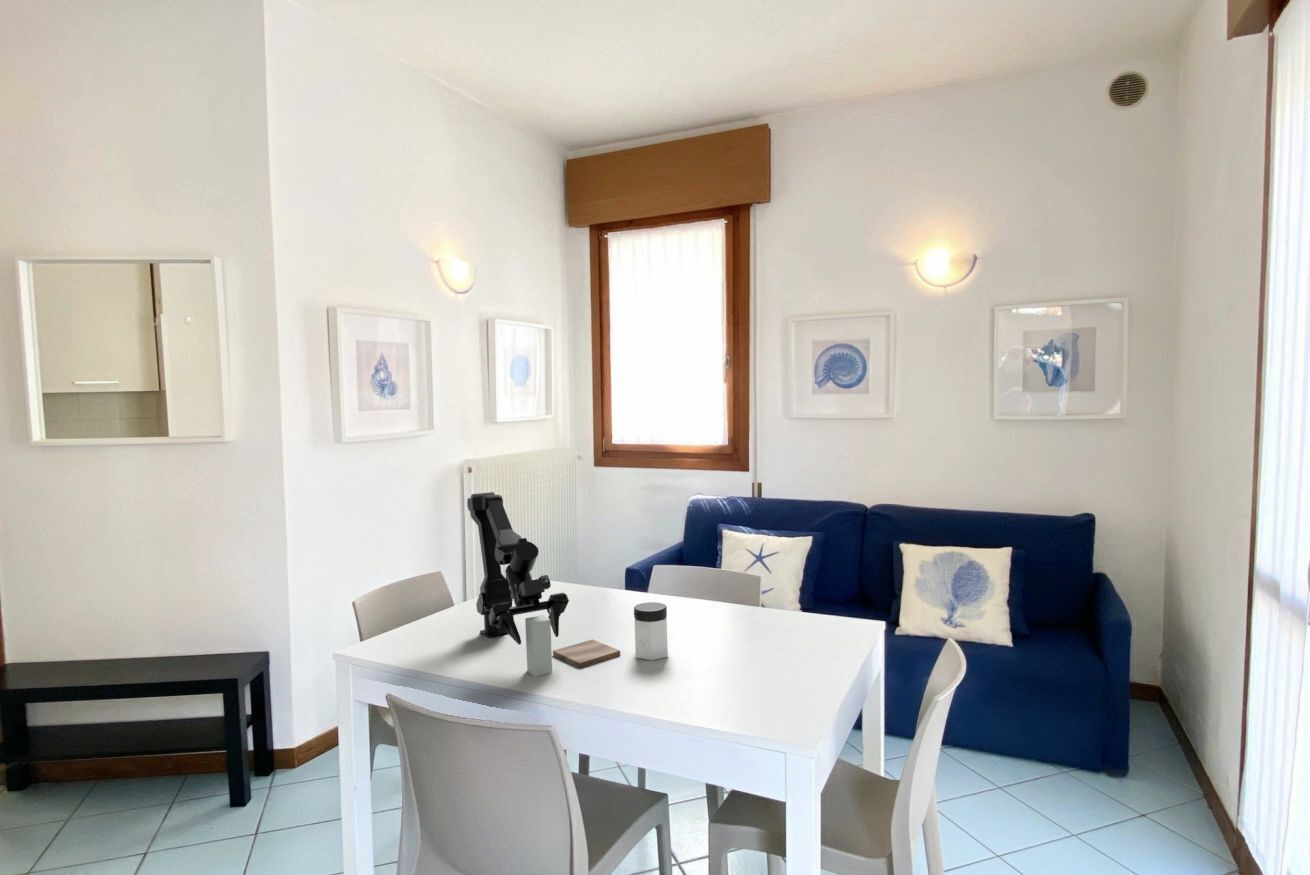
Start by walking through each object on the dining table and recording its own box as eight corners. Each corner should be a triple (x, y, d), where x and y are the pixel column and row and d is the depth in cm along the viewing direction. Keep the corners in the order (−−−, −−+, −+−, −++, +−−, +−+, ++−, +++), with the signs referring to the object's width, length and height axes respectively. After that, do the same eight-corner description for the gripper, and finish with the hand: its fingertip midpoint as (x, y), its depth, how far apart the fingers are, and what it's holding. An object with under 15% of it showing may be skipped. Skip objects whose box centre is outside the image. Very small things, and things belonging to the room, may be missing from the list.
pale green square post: (527, 670, 166) (525, 618, 165) (545, 666, 168) (543, 615, 167) (533, 676, 162) (531, 623, 161) (552, 672, 164) (550, 619, 164)
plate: (553, 655, 175) (552, 650, 175) (592, 643, 183) (592, 639, 183) (580, 668, 166) (579, 663, 166) (620, 655, 174) (620, 650, 174)
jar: (627, 657, 173) (626, 609, 172) (644, 646, 180) (642, 600, 179) (659, 662, 168) (657, 613, 168) (675, 651, 175) (673, 604, 175)
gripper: (490, 570, 164) (506, 629, 154) (564, 559, 173) (584, 614, 164) (481, 597, 171) (497, 654, 162) (553, 585, 180) (572, 639, 171)
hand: (539, 639), depth 164 cm, fingers open, 9 cm apart
